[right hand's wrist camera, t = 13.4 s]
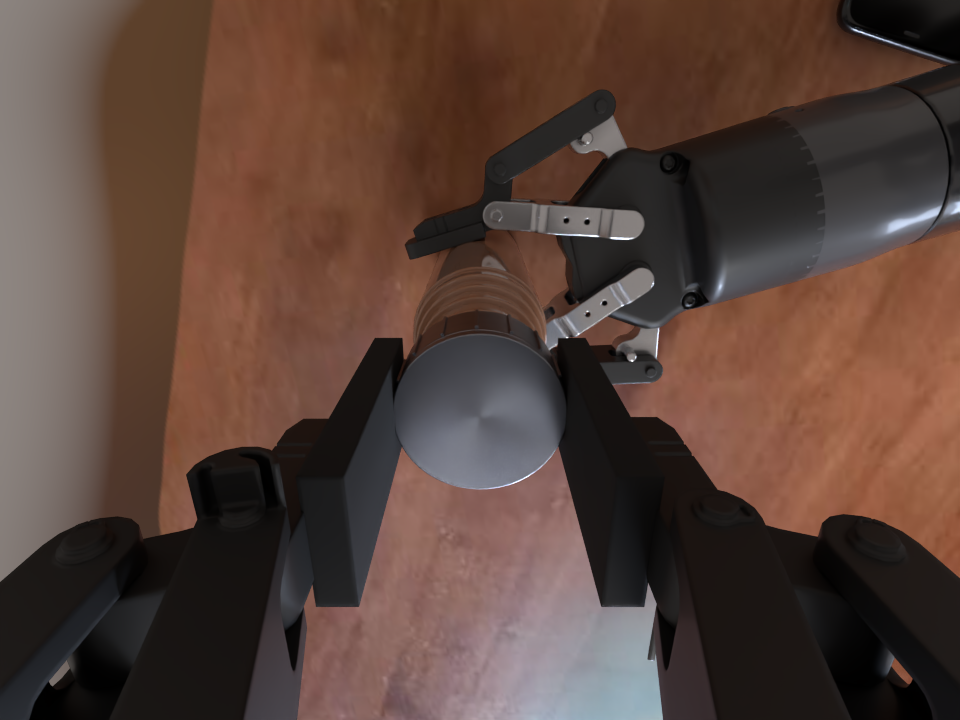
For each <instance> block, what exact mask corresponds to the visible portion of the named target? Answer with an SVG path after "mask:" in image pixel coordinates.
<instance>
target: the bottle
mask: <svg viewBox="0 0 960 720" xmlns="http://www.w3.org/2000/svg"><path fill="white" fill-rule="evenodd" d="M476 309H478V310H479V311H488V312H495V313H500V314H504V315H508V314H509V315H511V317H512V318H515V319H517V320H519V321H520V322H522V323H524V324H525V325H527V326H528V327H530V328H531V329H532V330H533V331H535V330H536V331H537V332H538V335H539V337H540V338H541V339H542V340H543V341H544V343H545V344H546V342H547V329H546V319H545V314H544V311H543V308H542V305H541V303H540V300H539V298H538V295H537V293H536V291H535V288H534V286H533V283H532V281H531V278H530V276H529V273H528V271H527V268H526V266H525V263H524V261H523V259H522V256H521V254H520V251H519V249H518V246H517V244H516V242H515V240H514V239H513V237H512V236H511V235H510V234H509V233H508V232H507V231H506V230H495V229H493V230H490V231H487V232H486V237H485V238H482V239H479V240H475V241H472V242H468V243H464V244H462V245H459V246H456V247H452V248H449V249H446V250H442V251H441V252H440V255H439V257H438V259H437V262H436V264H435V267H434V269H433V272H432V274H431V277H430V279H429V281H428V284H427V286H426V289H425V291H424V294H423V296H422V299H421V301H420V303H419V306H418V308H417V312H416V315H415V320H414V333H413V334H414V344H415V343H416V341H417V339H418V336H419V335H420V334H421V335H423V333H424V332H426V331H427V330H428V329H429V328H430V327H432V326H433V325H435V324H436V323H438V322H440V321H441V320H443V318H444V317H446V316H447V318H448V317H450V316H453V315H456V314H460V313H465V312H471V311H475V310H476Z"/></svg>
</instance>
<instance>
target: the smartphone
mask: <svg viewBox="0 0 960 720" xmlns="http://www.w3.org/2000/svg"><path fill="white" fill-rule="evenodd" d="M837 22H838V25H839V26H840V28H841V29H842V30H844V31H845V32H847V33H850V34H852V35H855V36H858V37H861V38H864V39H867V40H870V41H873V42H876V43H879V44H882V45H885V46H888V47H891V48H894V49H897V50H900V51H903V52H906V53H910V54H913V55H916V56H919V57H922V58H925V59H928V60H931V61H934V62H937V63H941V64H944V65H951V64H955V63H959V62H960V0H840V2H839V5H838V9H837Z"/></svg>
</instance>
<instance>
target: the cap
mask: <svg viewBox="0 0 960 720" xmlns="http://www.w3.org/2000/svg"><path fill="white" fill-rule="evenodd" d="M561 377H562V375H561V372H560V369H559V367H558V364H557V361H556V359H555V356H554V354H552V355H551V353H550V351H549V349H548V347H547V346H546V344H545V343H544V341H543V340H542V339H541V338H540V337H539V335H538V332H537V331H536V330H535V331H533V330H532V329H531V328H530V327H528V326H527V325H525V324H524V323H522V322H520V321H519V320H517V319H515V318H512V317H511V315H509V314H508V315H504V314H500V313H495V312H488V311H479V310H478V309H476V310H475V311H471V312H465V313H460V314H456V315H453V316H450V317H448V318H447V316H446V317H444V318H443V320H441V321H440V322H438V323H436V324H435V325H433V326H432V327H430V328H429V329H428V330H427V331H426V332H424V333H423V335H421V334H420V335H419V336H418V339H417V341H416V343H415V344H414V346H413V347H412V349H411V351H410V353H409V355H408V357H407V360H405V359H404V361H403V364H402V367H401V369H400V372H399V375H398V377H397V380H396V383H398V385H397V388H396V391H395V394H394V400H393V407H394V422H395V431H396V435H397V437H398V439H399V442H400V444H401V445H402V447H403V449H404V451H405V452H406V453H407V455H408V456H409V457H410V459H411V460H412V461H413V462H414V463H415V464H416V465H417V466H418V467H419V468H421V469H422V470H423V471H425V472H426V473H427V474H429V475H431V476H432V477H434V478H436V479H438V480H440V481H442V482H445V483H447V484H450V485H454V486H457V487H462V488H468V489H491V488H498V487H503V486H507V485H510V484H513V483H515V482H518V481H520V480H522V479H524V478H526V477H528V476H530V475H531V474H533V473H534V472H535V471H537V470H538V469H539V468H540V467H542V466H543V465H544V464H545V463H546V462H547V461H548V460H549V458H550V457H551V456H552V455H553V453H554V452H555V450H556V449H557V448H558V446H559V444H560V442H561V440H562V437H563V434H564V431H565V426H566V412H567V399H566V395H565V391H564V387H563V385H562V382H561V379H560V378H561Z"/></svg>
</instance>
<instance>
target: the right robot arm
mask: <svg viewBox="0 0 960 720" xmlns="http://www.w3.org/2000/svg"><path fill="white" fill-rule="evenodd" d="M403 361H404V357H403V340H402V338H375V339H374V341H373V342H372V344H371V346H370V348H369V349H368V351H367V353H366V355H365V356H364V358H363V360H362V362H361V363H360V365H359V367H358V369H357V370H356V372H355V374H354V375H353V377H352V379H351V381H350V382H349V384H348V386H347V388H346V389H345V391H344V393H343V395H342V396H341V398H340V400H339V402H338V403H337V405H336V407H335V409H334V410H333V412H332V414H331V416H330V417H329V419H303V420H301V421H300V422H298V423H297V424H295V425H294V426H292V427H291V428H289V429H288V430H286V432H285V433H284V434H283V436H282V437H281V439H280V440H279V442H278V443H277V446H275V447H274V449H273V450H272V451H271V450H269V449H265V448H261V447H239V448H234V449H229V450H224V451H222V452H219V453H216V454H214V455H211V456H209V457H207V458H205V459H204V460H202V461H200V462H199V463H197V464H196V465H194V466H193V468H192V469H191V470H190V471H189V472H188V473H187V474H186V476H187V480H188V484H189V488H190V492H191V496H192V500H193V504H194V507H195V511H196V515H197V522H196V524H195V526H194V528H191V529H187V530H183V531H179V532H174V533H170V534H165V535H160V536H155V537H150V538H146V539H143V537H142V534H141V531H140V527H139V525H138V524H137V523H136V522H134V521H133V520H132V519H129V518H123V517H108V518H99V519H95V520H91V521H89V522H88V521H87V522H84V523H81V524H78V525H76V526H75V527H73V528H70V529H68V530H66V531H64V532H62V533H60V534H58V535H57V536H55V537H54V538H52V539H51V540H50V541H48V542H47V543H45V544H44V545H42V546H41V547H40V548H39V549H38V550H37V551H35V552H34V553H33V554H32V555H31V556H30V557H29V558H27V559H26V560H25V561H24V562H23V563H22V564H21V565H19V566H18V567H17V568H16V569H15V570H14V571H12V572H11V573H10V574H9V575H8V576H7V577H6V578H4V579H3V580H2V581H1V582H0V720H297V715H298V706H299V696H300V687H301V678H302V669H303V659H304V650H305V641H306V632H307V624H306V617H305V611H304V604H305V602H306V599H307V596H308V594H309V591H310V589H311V586H312V584H313V590H314V597H315V603H316V607H359V605H360V601H361V597H362V593H363V590H364V586H365V582H366V578H367V575H368V571H369V567H370V564H371V560H372V556H373V552H374V549H375V545H376V541H377V537H378V534H379V530H380V526H381V522H382V519H383V515H384V511H385V507H386V504H387V500H388V496H389V493H390V489H391V485H392V481H393V478H394V474H395V470H396V466H397V463H398V459H399V455H400V451H401V448H402V445H401V444H400V442H399V439H398V437H397V435H396V431H395V422H394V407H393V400H394V394H395V391H396V388H397V385H398V383H396V380H397V377H398V375H399V372H400V369H401V367H402V364H403ZM557 364H558V367H559V369H560V372H561V375H562V377H561V378H560V379H561V382H562V385H563V387H564V391H565V395H566V399H567V412H566V426H565V431H564V434H563V437H562V440H561V442H560V444H559V450H560V454H561V458H562V461H563V465H564V469H565V473H566V476H567V480H568V484H569V488H570V491H571V495H572V499H573V502H574V506H575V510H576V514H577V517H578V521H579V525H580V529H581V532H582V536H583V540H584V544H585V547H586V551H587V555H588V559H589V562H590V566H591V570H592V573H593V577H594V581H595V585H596V588H597V592H598V596H599V600H600V603H601V607H644V605H645V599H646V593H647V586H648V583H649V585H650V588H651V590H652V593H653V595H654V598H655V601H656V603H657V606H656V611H655V617H654V623H653V629H652V635H651V640H650V646H649V653H648V660H653V661H654V660H655V654H656V658H657V667H658V677H659V686H660V695H661V704H662V713H663V720H960V578H959V577H958V576H957V575H955V574H954V573H953V572H952V571H951V570H950V569H948V568H947V567H946V566H945V565H944V564H943V563H941V562H940V561H939V560H938V559H937V558H936V557H935V556H933V555H932V554H931V553H930V552H929V551H928V550H926V549H925V548H924V547H923V546H922V545H921V544H919V543H918V542H917V541H915V540H914V539H912V538H911V537H909V536H908V535H906V534H905V533H904V532H902V531H900V530H898V529H896V528H894V527H892V526H889V525H887V524H886V523H884V522H881V521H878V520H875V519H871V518H868V517H863V516H855V515H846V514H842V515H836V516H831V517H829V518H828V519H826V520H825V521H824V522H823V523H822V525H821V529H820V532H819V535H818V537H816V536H811V535H806V534H801V533H797V532H792V531H787V530H782V529H778V528H774V527H771V526H767V525H765V523H764V521H763V518H762V517H761V516H760V514H759V513H758V512H757V510H756V509H755V508H754V507H753V506H751V505H750V504H748V503H747V502H746V501H744V500H743V499H741V498H739V497H737V496H734V495H732V494H730V493H727V492H724V491H720V490H717V488H716V487H715V486H714V484H713V483H712V481H711V480H710V478H709V477H708V476H707V474H706V473H705V471H704V470H703V469H702V467H701V466H700V464H699V463H698V461H697V460H696V459H695V457H694V456H692V455H691V454H692V453H691V452H690V450H689V449H688V447H687V446H686V445H684V442H683V440H682V439H681V437H680V436H679V435H678V433H677V432H676V430H675V429H674V428H673V427H671V426H669V425H668V424H666V423H665V422H663V421H662V420H660V419H659V418H657V417H630V415H629V413H628V412H627V410H626V408H625V406H624V405H623V403H622V401H621V399H620V398H619V396H618V394H617V392H616V391H615V389H614V387H613V385H612V384H611V382H610V380H609V378H608V377H607V375H606V373H605V371H604V370H603V368H602V366H601V364H600V363H599V361H598V359H597V357H596V356H595V354H594V352H593V350H592V349H591V347H590V345H589V343H588V342H587V340H586V338H558V346H557ZM894 658H896V659H897V661H898V662H899V663H900V664H901V665H902V666H903V668H904V669H905V670H906V671H907V672H908V674H909V675H910V676H911V677H912V678H913V680H912V682H911V683H910V684H907V683H906V682H905V681H904V680H903V679H902V678H901V677H900V676H899V675H898V674H897V673H896V672H895V670H894V669H893V668H892V667H891V665H892V663H893V660H894ZM66 660H67V662H68V664H69V666H70V669H69V670H68V671H67V673H66V674H65V675H64V676H63V678H62V679H60V680H59V681H58V682H57V683H56V684H55V685H54V686H53V687H52V686H51V685H50V683H49V680H50V679H51V678H52V677H53V676H54V674H55V673H56V672H57V671H58V670H59V668H60V667H61V666H62V665H63V664H64V662H65V661H66Z"/></svg>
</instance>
